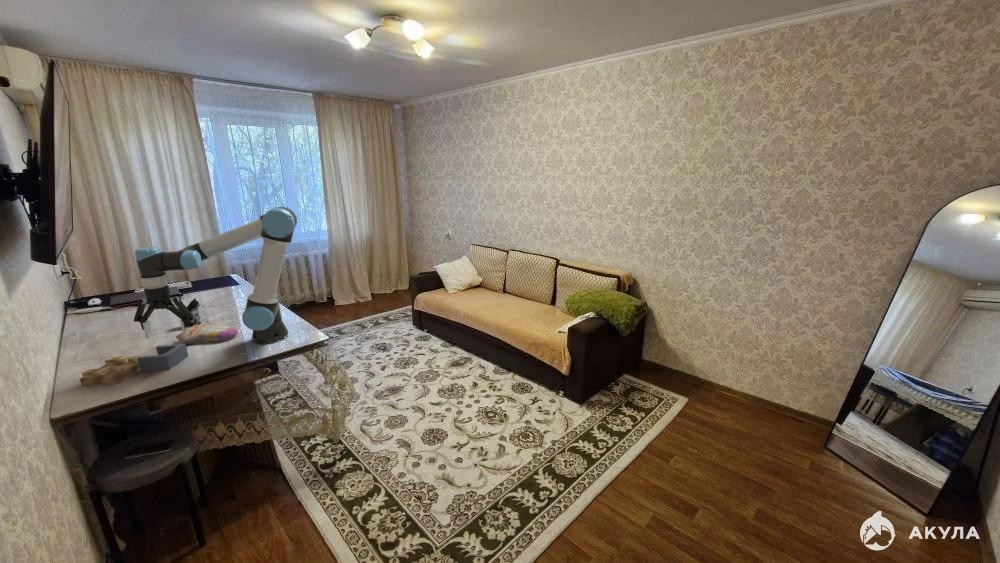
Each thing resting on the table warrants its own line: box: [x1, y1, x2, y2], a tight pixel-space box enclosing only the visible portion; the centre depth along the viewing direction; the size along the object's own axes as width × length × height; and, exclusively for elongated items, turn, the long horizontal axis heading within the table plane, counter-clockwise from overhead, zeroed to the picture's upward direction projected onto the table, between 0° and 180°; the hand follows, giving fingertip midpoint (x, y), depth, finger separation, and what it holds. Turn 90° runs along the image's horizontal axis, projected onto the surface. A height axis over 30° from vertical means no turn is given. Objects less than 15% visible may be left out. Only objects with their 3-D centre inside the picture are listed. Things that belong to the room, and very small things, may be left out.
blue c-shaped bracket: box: [137, 343, 189, 373], centre depth 159 cm, size 10×12×6 cm
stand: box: [79, 355, 141, 387], centre depth 150 cm, size 13×15×5 cm
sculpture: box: [175, 323, 238, 343], centre depth 185 cm, size 17×7×25 cm
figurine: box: [186, 297, 202, 328], centre depth 198 cm, size 10×10×15 cm
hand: (168, 335), depth 157 cm, fingers open, 13 cm apart
